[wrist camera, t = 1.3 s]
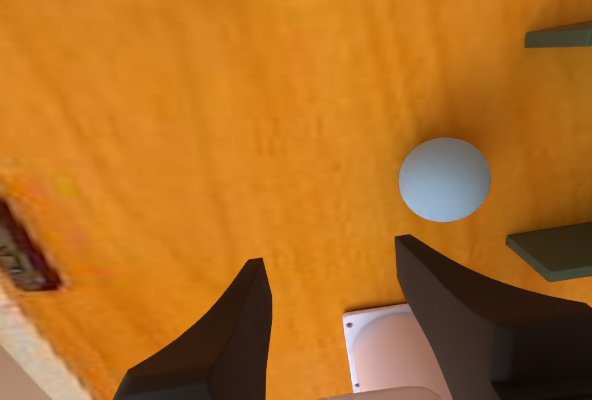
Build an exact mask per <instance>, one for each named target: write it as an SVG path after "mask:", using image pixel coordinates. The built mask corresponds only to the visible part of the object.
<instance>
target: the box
mask: <svg viewBox="0 0 592 400" xmlns="http://www.w3.org/2000/svg"><path fill="white" fill-rule="evenodd" d="M588 46H592V21H588V22H582V23H577V24H571V25H566V26H561V27H555V28H550V29H544V30H539V31H533V32H528V33H526V37H525V48H543V47H588ZM506 245H507V246H509V247H510V248H511V249H512V250H513V251H514V252H515V253H516V254H518V255H519V256H520V257H521V258H522V259H523V260H524V261H526V262H527V263H528V264H529V265H530V266H531V267H532V268H534V269H535V270H536V271H537V272H538V273H539V274H540V275H541V276H543V277H544V278H545V279H546V280H547V281H548V282H554V281H561V280H568V279H574V278H581V277H588V276H592V222H591V223H584V224H578V225H572V226H565V227H559V228H553V229H546V230H540V231H533V232H527V233H521V234H514V235H508V236H507V242H506Z"/></svg>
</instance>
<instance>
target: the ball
mask: <svg viewBox="0 0 592 400" xmlns="http://www.w3.org/2000/svg"><path fill="white" fill-rule="evenodd" d="M398 183H399V189H400V193H401V196H402V198H403V200H404V201H405V203H406V204H407V206H408V207H409V208H410V209H411V210H412V211H413V212H415V213H416V214H417V215H419V216H421V217H423V218H425V219H428V220H431V221H435V222H452V221H456V220H460V219H463V218H465V217H467V216H469V215H470V214H472V213H473V212H475V211H476V210H477V209H478V208H479V207H480V206H481V205H482V203H483V202H484V201H485V199H486V197H487V195H488V192H489V189H490V185H491V173H490V168H489V165H488V163H487V161H486V159H485V157H484V156H483V155H482V153H481V152H480V151H479V150H478V149H477V148H476V147H474V146H473V145H471V144H470V143H468V142H466V141H463V140H460V139H457V138H450V137H441V138H435V139H431V140H428V141H425V142H423V143H421V144H420V145H418V146H417V147H415V148H414V149H413V150H412V151H411V152H410V153H409V154H408V155H407V157H406V158H405V160H404V161H403V163H402V166H401V168H400V172H399V182H398Z"/></svg>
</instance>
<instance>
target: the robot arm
mask: <svg viewBox="0 0 592 400" xmlns="http://www.w3.org/2000/svg"><path fill="white" fill-rule="evenodd" d="M395 250H396V266H397V278H398V281H399V283H400V286H401V289H402V291H403V294H404V297H405V299H406V301H407V304H400V305H393V306H387V307H380V308H373V309H367V310H360V311H353V312H347V313H345V314H343V316H342V320H343V327H344V334H345V340H346V347H347V354H348V360H349V367H350V373H351V380H352V387H353V393H351V394H344V395H336V396H329V397H325V398H322V399H319V400H592V308H591V307H590V306H589V305H587V304H586V303H583V302H577V301H572V300H567V299H562V298H557V297H552V296H547V295H543V294H539V293H535V292H532V291H528V290H524V289H521V288H518V287H514V286H511V285H508V284H505V283H502V282H500V281H497V280H494V279H491V278H489V277H487V276H484V275H482V274H479V273H477V272H475V271H473V270H470V269H468V268H466V267H464V266H462V265H460V264H458V263H457V262H455V261H453V260H451V259H449V258H447V257H446V256H444V255H442V254H440V253H439V252H437V251H435V250H434V249H432V248H431V247H429V246H428V245H426V244H424V243H423V242H421V241H420V240H418V239H417V238H415V237H413V236H412V235H410V234H407V235H401V236H395ZM347 323H351V324H347ZM271 325H272V294H271V290H270V286H269V282H268V278H267V274H266V270H265V266H264V262H263V258H256V259H250V260H248V261H247V262H246V263H245V265H244V266H243V268H242V269H241V271H240V272H239V273H238V275H237V276H236V278H235V279H234V280H233V282H232V283H231V284H230V286H229V287H228V288H227V290H226V291H225V292H224V294H223V295H222V296H221V297H220V298H219V300H218V301H217V302H216V303H215V304H214V305H213V306H212V308H211V309H210V310H209V311H208V312H207V313H206V314H205V315H204V316H203V317H202V318H201V319H200V320H198V321H197V322H196V323H195V324H194V325H193V326H192V327H190V328H189V329H188V330H187V331H186V332H184V333H183V334H182V335H181V336H180V337H178V338H177V339H176V340H174V341H173V342H172V343H170V344H169V345H167V346H166V347H165V348H163V349H162V350H160V351H159V352H157V353H156V354H154V355H153V356H151V357H149V358H148V359H146V360H144V361H143V362H141V363H139V364H138V365H136V366H134V367H132V368H131V369H129V370H128V371H127V373H126V374H125V376H124V378H123V380H122V382H121V384H120V386H119V388H118V390H117V392H116V394H115V396H114V398H113V400H265V398H266V368H267V359H268V351H269V342H270V334H271Z"/></svg>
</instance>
